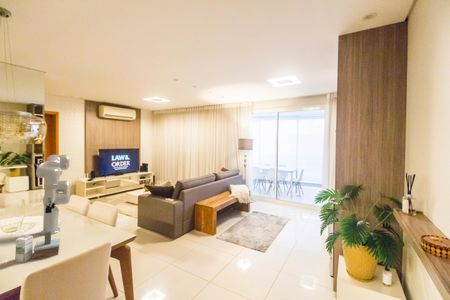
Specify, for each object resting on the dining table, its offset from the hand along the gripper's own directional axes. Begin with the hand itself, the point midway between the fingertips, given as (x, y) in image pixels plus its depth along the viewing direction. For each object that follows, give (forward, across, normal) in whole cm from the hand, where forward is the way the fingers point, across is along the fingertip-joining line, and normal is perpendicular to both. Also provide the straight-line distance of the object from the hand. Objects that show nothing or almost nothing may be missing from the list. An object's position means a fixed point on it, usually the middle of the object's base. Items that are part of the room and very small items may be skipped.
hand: (50, 210), depth 147 cm
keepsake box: (+26, +11, +1) cm, 28 cm away
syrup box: (+26, +14, -10) cm, 31 cm away
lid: (+21, +11, +1) cm, 24 cm away
